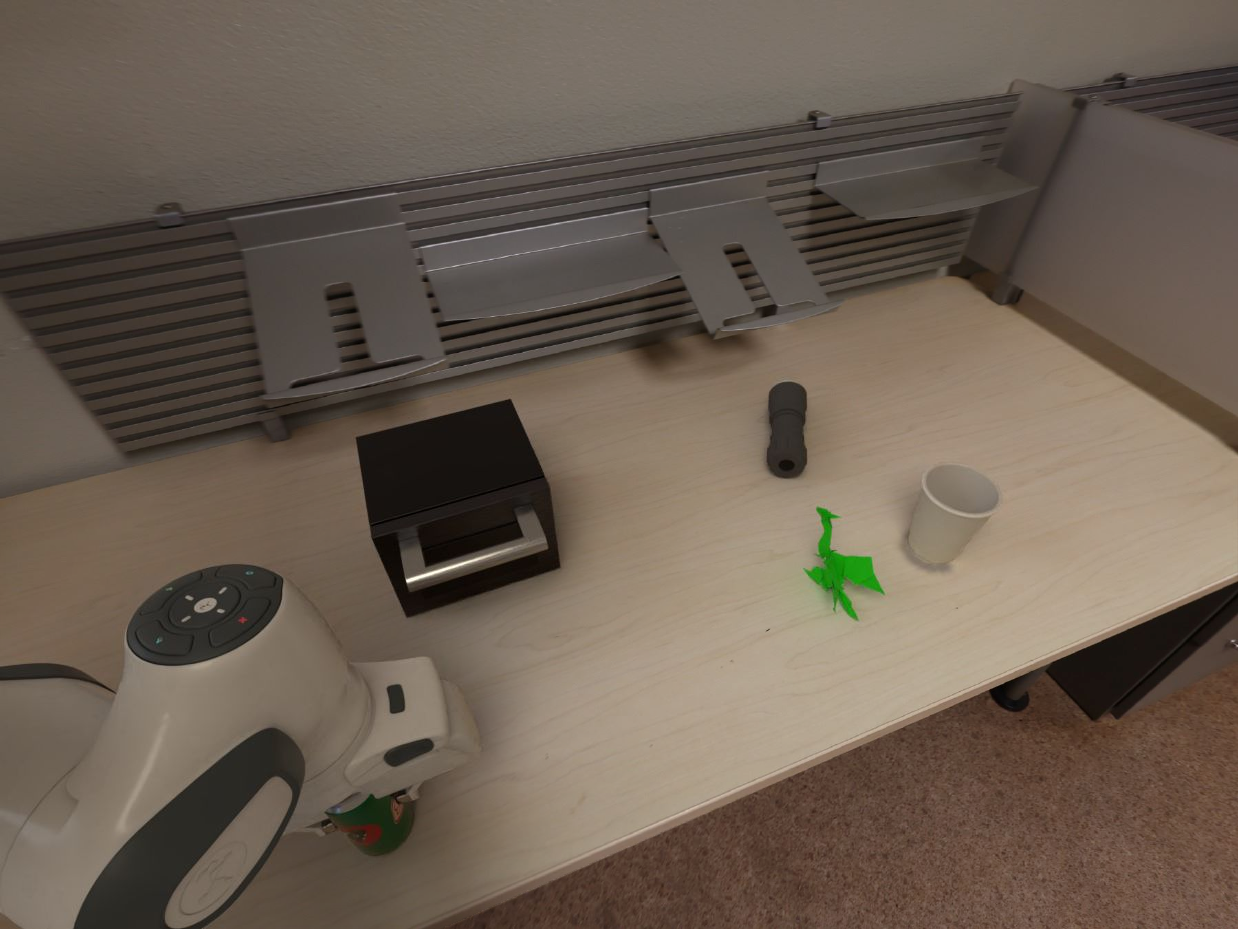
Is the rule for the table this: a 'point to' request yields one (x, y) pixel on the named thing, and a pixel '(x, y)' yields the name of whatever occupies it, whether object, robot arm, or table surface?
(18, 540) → the table surface
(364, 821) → the soda can
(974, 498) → the dixie cup
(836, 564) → the figurine
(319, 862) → the table surface
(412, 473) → the oven
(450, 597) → the oven door
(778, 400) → the flashlight
